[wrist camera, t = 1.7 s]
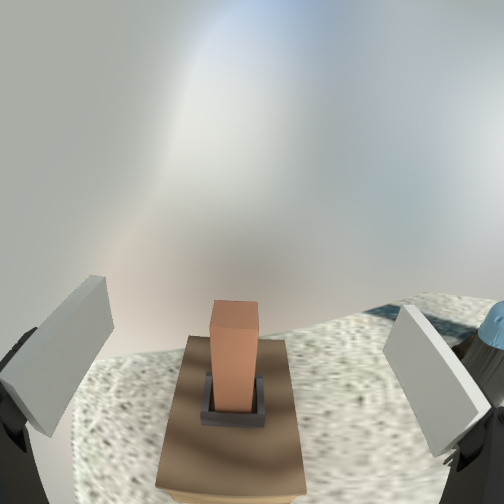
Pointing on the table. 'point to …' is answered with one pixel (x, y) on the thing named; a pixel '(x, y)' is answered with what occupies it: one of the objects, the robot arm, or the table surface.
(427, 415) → the robot arm
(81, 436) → the table surface
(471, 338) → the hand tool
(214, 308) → the wooden peg
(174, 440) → the wooden socket base
